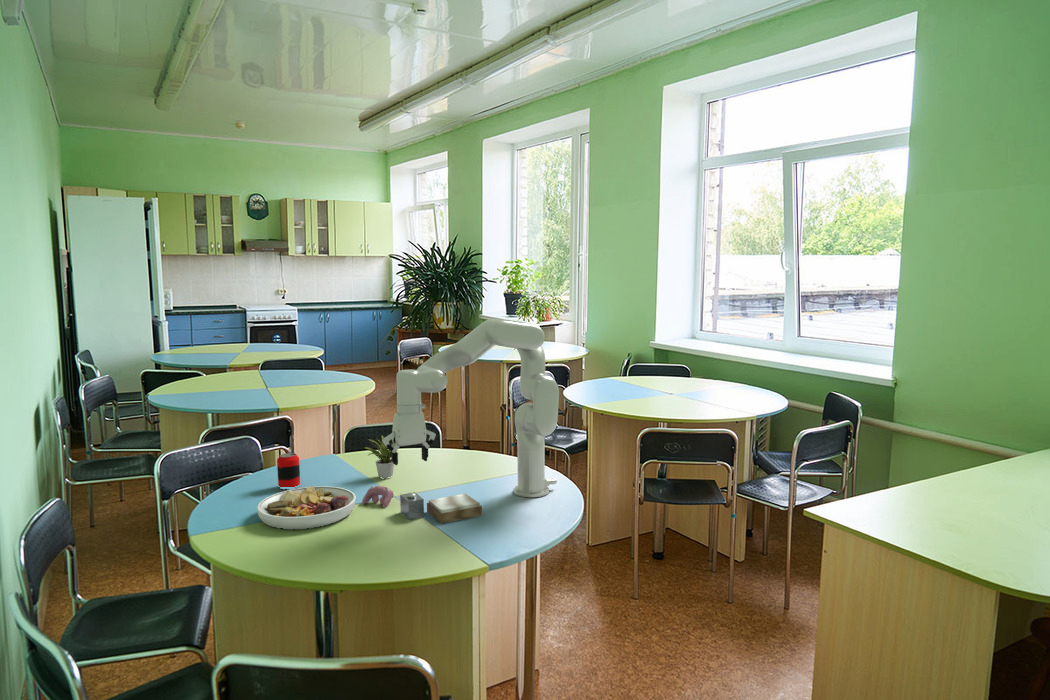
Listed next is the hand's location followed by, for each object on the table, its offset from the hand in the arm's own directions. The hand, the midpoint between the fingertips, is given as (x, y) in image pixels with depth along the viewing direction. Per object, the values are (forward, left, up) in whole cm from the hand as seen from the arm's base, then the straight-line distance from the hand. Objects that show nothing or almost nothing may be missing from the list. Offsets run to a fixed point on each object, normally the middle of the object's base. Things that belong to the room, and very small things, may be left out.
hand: (410, 462), depth 211 cm
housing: (0, 0, -17) cm, 17 cm away
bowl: (+29, -17, -18) cm, 38 cm away
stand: (-12, +6, -17) cm, 22 cm away
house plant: (-6, -45, -18) cm, 49 cm away
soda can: (+29, -50, -18) cm, 60 cm away
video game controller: (+6, -16, -18) cm, 24 cm away
